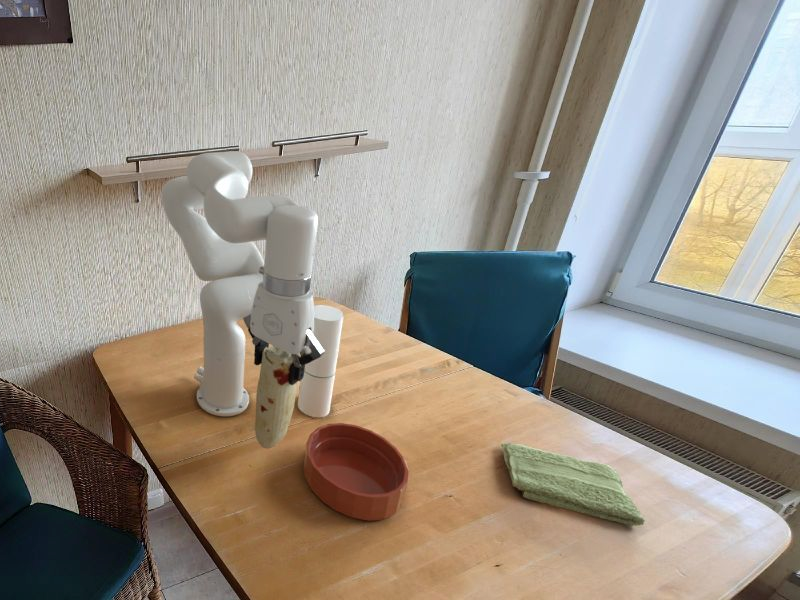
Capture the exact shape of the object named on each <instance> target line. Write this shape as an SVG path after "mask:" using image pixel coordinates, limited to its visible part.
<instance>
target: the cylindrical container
mask: <svg viewBox="0 0 800 600" xmlns="http://www.w3.org/2000/svg"><path fill="white" fill-rule="evenodd" d="M344 317H345V316H344V312H343V311H341V309H339V308H337V307H335V306H331V305H325V304H316V305H314V330H313V335H314V337H315V338H316V340H317V341H318V342H319V344H320V345H321V347H322V348H323V350H324V351H325V354H324V355H323V356H321V357H320V358H318V359H316V360H314V361H312V362H310V363H307V364H305V370H304V377H303V379H302V380H301V381H299V388H298V397H297V408H298V409H299V410H300V412H301V413H303V414H305V415H306V416H309V417H312V418H324V417H326V416H328V415H329V414H330V412H331V411H330V410H331V404H332V398H333V391H334V383H335V378H336V370H337V363H338V356H339V350H340V343H341V336H342V328H343V322H344ZM306 350H307V353H311V349H310V348H309V346H306Z"/></svg>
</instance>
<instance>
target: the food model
mask: <svg viewBox="0 0 800 600" xmlns="http://www.w3.org/2000/svg"><path fill="white" fill-rule="evenodd" d="M293 363H294V362H293V359H292V356H291V354H290V353H287V352H285V351H283V350H281V349H279V348H277V347H275V346H273V345H271V347H269V348H267V347H266V348H265V349H264V351H263V355H262V362H261V364H260V370H259V371H260V372H259V377H258V381H257V386H256V394H255V399H256V401H255V403H256V404H255V421H254V422H255V423H254V434H255V438H256V440H257V441H258V444H259V445H260V447H261V448H263V449H272V448H273V447H276V446H277V445H278V444H280V443H281V442H282V441H283V439H284V437H285V436H286V434H287V431H288V428H289V425H290V423H291V420H292V417H293V413H294V412H293V411H294V407H295V403H296V396H297V388H298V387H297V386H298V385H297V383H298V382H296V383H295V384H294V385H290V384H289V373H290V366H291V364H293Z"/></svg>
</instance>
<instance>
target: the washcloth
mask: <svg viewBox="0 0 800 600" xmlns="http://www.w3.org/2000/svg"><path fill="white" fill-rule="evenodd" d="M501 447H502V451H503V459H504V463H505V465H506V467H507V469H508V474H509V476H510V479H511V483H512V487H514V488H517V489H518V491H521V494H522V497H523V498H525V499H528V500H530V501H536V502H538V503H539V502H540V503H543V504H547V505H549V506H552V507H558V508H562V509H566V510H569V511H572V512H578V513H579V514H584V515H588V516H593V517H596V518H599V519H605V520H608V521H611V522H615V523H618V524H624V525H627V526H630V527H634V526H637V527H638V526H643V525H644V524H645V522H646V520H645V518H644V516H643V514H642V513H641V512H640V510H639V509H638V508H637V506H636V505H635V503H634V501H633V499H632V498H631V497H630V495H627V493H626V491H625V490H624V488H623V481H622V480H621V476H620V475H619V473H618V472H617V471H616V470H615V469H614V468H613V467H612V466H611V465H608V464H605V463H601V462H597V461H590V460H589V461H588V460H583V459H580V458H576V457H574V456H570V455H564V454H561V453H556V452H551V451H546V450H542V449H539V448H535V447H531V446H528V445H525V444H521V443H511V442H510V443H509V442H508V443H507V442H506V443H505V442H504V443H501Z"/></svg>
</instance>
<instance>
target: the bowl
mask: <svg viewBox="0 0 800 600" xmlns="http://www.w3.org/2000/svg"><path fill="white" fill-rule="evenodd" d="M305 444H306V445H305V451H304V459H303V471H304V472H303V473H304V477H305V480H306V482H307V484H308V486H309V488H310V489H311V490H312V492H313V493H314V495H316V496H317V497H318V499H319V500H320V501H322V502H323V503H324V504H325V505H327V506H328V507H330V508H331V509H333V510H334V511H336V512H338V513H341V514H343V515H345V516H347V517H350V518H354V519H359V520H363V521H381V520H386V519H387V518H389V517H391V516H393V515H396V513H397V512H398V511H399V510H400V509H401V507H402V506H403V503H404V499H405V495H406V491H407V487H408V482H409V474H410V471H409V468H408V467H409V466H408V465H407V462H406V460H405V457H404V456H403V455H402V453H401V452H400V451H399V450H398V448H397V447H396V446H395V445H393V444H392V443H391V442H390V441H388V440H387V438H385V437H384V436H382V435H380V434H378V433H376V432H374V431H373V430H371V429H368V428H365V427H362V426H360V425H357V424H351V423H343V422H337V423H326V424H324V425H321V426H319V427H317V428H315V429H314V430H313V431H312V432H311V433H310V434H309V436H308V438H307V441H306V442H305Z"/></svg>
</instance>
